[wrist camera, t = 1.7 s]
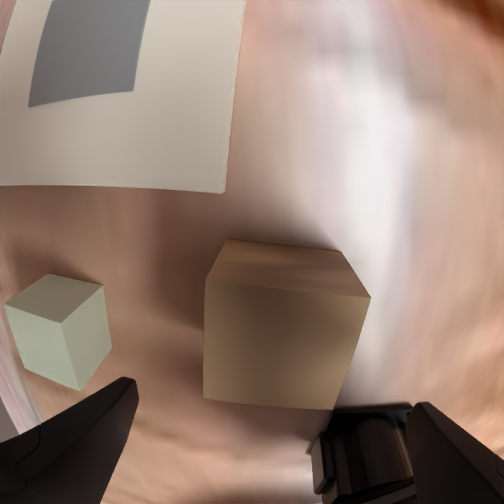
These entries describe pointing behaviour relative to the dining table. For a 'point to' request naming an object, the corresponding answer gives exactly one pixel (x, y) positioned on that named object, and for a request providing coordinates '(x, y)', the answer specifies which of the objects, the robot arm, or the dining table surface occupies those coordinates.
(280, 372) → the walnut block
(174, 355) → the dining table surface
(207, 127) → the off-white flat square slab
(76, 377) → the sage block
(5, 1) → the dining table surface
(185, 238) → the dining table surface
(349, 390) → the dining table surface
